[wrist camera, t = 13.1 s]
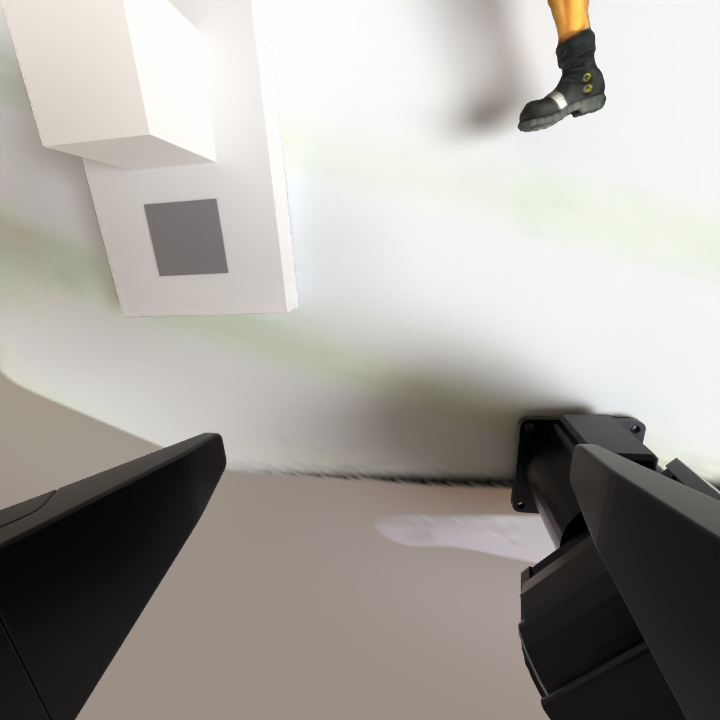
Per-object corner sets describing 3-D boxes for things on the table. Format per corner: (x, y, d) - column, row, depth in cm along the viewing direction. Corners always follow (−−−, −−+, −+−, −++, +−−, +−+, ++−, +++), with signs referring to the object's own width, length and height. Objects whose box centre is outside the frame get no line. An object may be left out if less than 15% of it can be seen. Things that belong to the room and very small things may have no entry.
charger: (236, 170, 19) (149, 134, 13) (159, 177, 19) (42, 146, 13) (220, 52, 17) (111, -55, 11) (137, 65, 18) (-8, -29, 12)
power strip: (299, 306, 21) (283, 314, 18) (148, 311, 22) (114, 319, 20) (248, -174, 14) (214, -260, 12) (45, -121, 16) (-22, -187, 14)
